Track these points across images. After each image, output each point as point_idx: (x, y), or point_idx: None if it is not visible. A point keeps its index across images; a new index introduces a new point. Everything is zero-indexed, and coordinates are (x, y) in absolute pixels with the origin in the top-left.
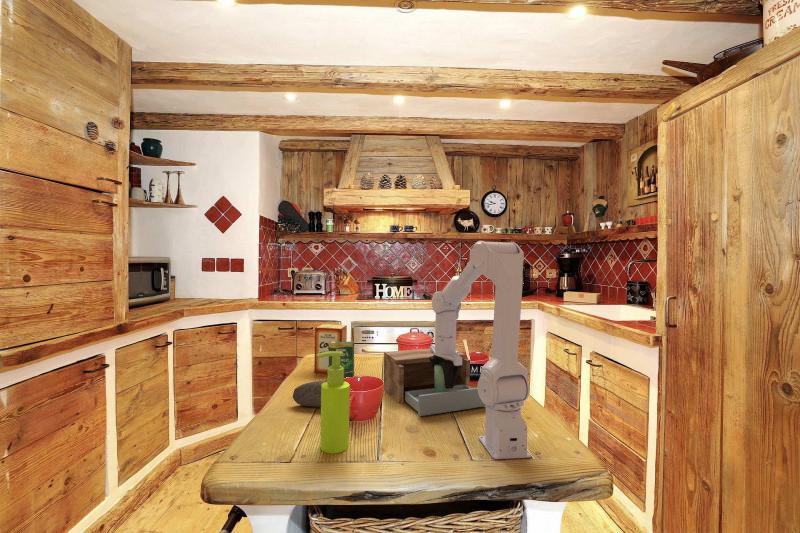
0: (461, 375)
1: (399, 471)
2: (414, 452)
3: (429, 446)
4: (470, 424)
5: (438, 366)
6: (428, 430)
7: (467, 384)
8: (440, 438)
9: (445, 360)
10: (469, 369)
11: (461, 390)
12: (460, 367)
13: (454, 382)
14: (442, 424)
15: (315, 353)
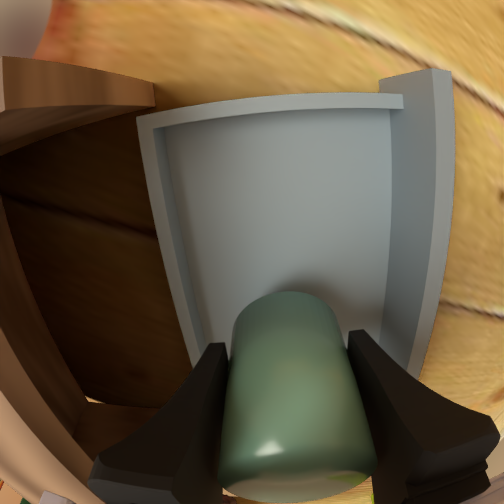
0: (51, 124)
1: (501, 427)
2: (486, 413)
3: (492, 392)
4: (487, 267)
5: (291, 494)
6: (444, 387)
7: (132, 93)
8: (487, 369)
9: (192, 473)
10: (69, 67)
11: (432, 303)
12: (477, 418)
13: (380, 348)
14: (441, 350)
15: (3, 482)
